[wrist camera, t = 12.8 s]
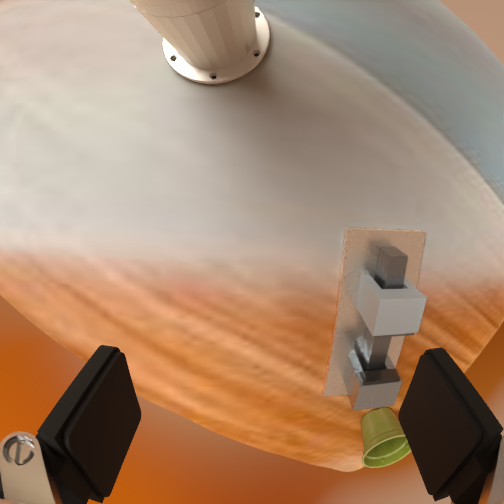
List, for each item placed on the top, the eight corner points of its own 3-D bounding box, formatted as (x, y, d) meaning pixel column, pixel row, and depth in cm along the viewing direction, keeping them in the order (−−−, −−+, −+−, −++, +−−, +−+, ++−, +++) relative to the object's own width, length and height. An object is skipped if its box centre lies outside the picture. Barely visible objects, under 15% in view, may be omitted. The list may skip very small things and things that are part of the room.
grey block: (361, 275, 36) (379, 299, 29) (402, 274, 36) (427, 297, 29) (355, 310, 38) (371, 338, 31) (396, 308, 37) (417, 335, 31)
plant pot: (410, 405, 44) (426, 438, 36) (377, 437, 47) (388, 470, 39) (375, 394, 43) (390, 431, 35) (341, 428, 46) (350, 465, 38)
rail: (344, 227, 35) (365, 245, 28) (422, 230, 35) (454, 248, 28) (322, 392, 43) (330, 429, 36) (386, 386, 43) (401, 420, 35)
